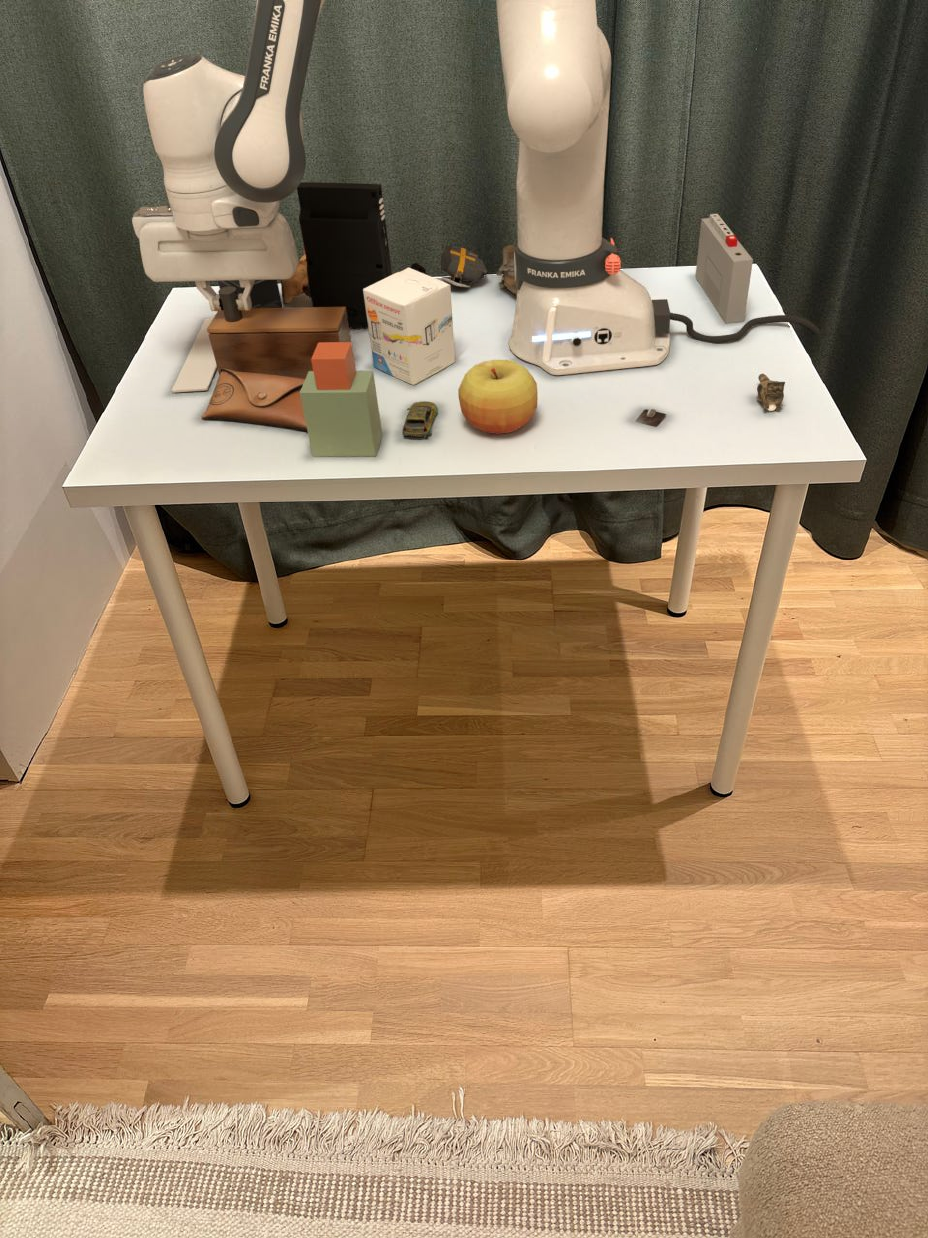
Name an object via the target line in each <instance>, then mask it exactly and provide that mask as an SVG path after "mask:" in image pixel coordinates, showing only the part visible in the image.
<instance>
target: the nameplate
mask: <svg viewBox="0 0 928 1238" xmlns="http://www.w3.org/2000/svg"><path fill="white" fill-rule="evenodd" d="M213 318H214V317H206V318H205V319H204V320H203V323H202V325H201V326H200V328H199V331H198V333H197V335H196V338H195V340H194V341H193V344H192V346H191V348H190V351H189V353H188V355H187V357H186V358H185V361H184V363H183V365H182V368H181V369H180V371H179V374H178V376H177V379H176V380H175V383H174V384H173V386H172V389H171V392H172V393H184V392H201V391H208V390H209V388H210V385H211V383H212V381H213V378H214V376H215V375H216V371H217V370H218V369H217V365H216V361H215V357H214V354H213V350H212V346H211V342H210V339H209V335H208V334H209V333H208V332H207V328H208V326H209V325H210V323H211V321H212V320H213Z"/></svg>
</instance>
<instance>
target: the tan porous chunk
mask: <svg viewBox="0 0 928 1238" xmlns="http://www.w3.org/2000/svg"><path fill="white" fill-rule="evenodd" d="M302 251H303V253H302V256H301V258H300V259H299V264H298V267H297V269H296V271H295V273H294V274H293V276H292V277H291V278H290V279H280V285H281V287H280V288H281V301H282V303H283V305H285V304H289V303H290V302H291V301H292V299H293V298H298V297H300V296H302V295H303V294H304V295H306V296H307V297H308V298H309V299H311V296H310V292H309V284H308V276H307V261H306V255H305V249H304V245H303V250H302Z"/></svg>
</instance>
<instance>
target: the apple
mask: <svg viewBox="0 0 928 1238" xmlns="http://www.w3.org/2000/svg"><path fill="white" fill-rule="evenodd" d="M538 399H539V398H538V384H537V382H536V380H535V378H534V376H533V375H532V373H531V372H530V371H529V370H528V369H527V367H525V365H524V366H523V364H520V363H518V362H516V361H512V360H508V359H492V360H485V361H482V362H480V363H478V364H477V363H476V364H474V365H473V366H472V367H471V368H470V369H469V370H467V372H465V374H464V376H463V378H462V379H461V382H460V385H459V387H458V401H459V402H458V403H459V406H460V410H461V413H462V415H463V416H464V418H465V419H466V420H467V422H468V423H470V424H471V425H472V426H473V427H474V428H476V429H478V430H480V431H482V432H485V433H489V434H496V435H498V434H507V433H511V432H515V431H517V430H518V429H520V428H521V427H523V426H525V425H526V424H528V422H529V421H530V420H531V418H532V417H533V416H534V413H535V411H536V410H537V408H538Z"/></svg>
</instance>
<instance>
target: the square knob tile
mask: <svg viewBox="0 0 928 1238" xmlns="http://www.w3.org/2000/svg"><path fill="white" fill-rule="evenodd" d="M666 416H667V413H664V412H660V411H657V410H656V409H655V408H651V409H644V410H643V411H642V412H641V413H640V414H639V416H638V417H637V418H636V419H635V422H636V423H640V424H644V425H647V426H650V427H651V426H652V427H654V428H655V427H656V428H657V427H658V426H659V425H660V423H661V422H662V421H663V420H664V418H665V417H666Z"/></svg>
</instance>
